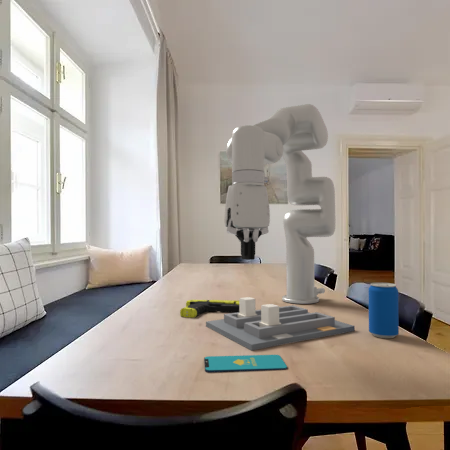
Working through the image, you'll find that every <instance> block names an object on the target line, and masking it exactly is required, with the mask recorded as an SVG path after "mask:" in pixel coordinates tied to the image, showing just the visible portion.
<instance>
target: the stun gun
mask: <svg viewBox="0 0 450 450" xmlns="http://www.w3.org/2000/svg"><path fill="white" fill-rule="evenodd" d="M208 312H219V313H229V314H230V313H238V312H239V300H238V299H237V300H233V299H231V300H229V299H225V300H224V299H188V300H186V302H185V307H183V308H181V309H180V311H179V316H180V317H181V318H182V317H183V318H191V319H194V318H196V317H198V316H199V315H201V314H203V313H208Z"/></svg>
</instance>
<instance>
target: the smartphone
mask: <svg viewBox="0 0 450 450" xmlns="http://www.w3.org/2000/svg"><path fill="white" fill-rule="evenodd" d="M203 363H204V372H205V373H208V374H209V373H211V374H212V373H235V372H237V373H238V372H256V371H257V372H258V371H261V372H263V371H283V370H288V366H287V364H286V362H285V360H284V359H283V358H282V357H281V355H280V354H250V355H249V354H248V355H216V356H215V355H212V356H211V355H210V356H205V357H204V358H203Z"/></svg>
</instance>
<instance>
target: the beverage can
mask: <svg viewBox="0 0 450 450" xmlns="http://www.w3.org/2000/svg"><path fill="white" fill-rule="evenodd" d="M369 284H370V285H369V287H368V332H369V333H371V335H372V336H374V337H377V338H380V339H393V338H395V337H396V336H398V335H399V334H400V333H399V330H400V328H399V327H400V326H399V325H400V323H399V322H400V321H399V320H400V319H399V290H398V288H397V284H395V283H390V282H371V283H369Z"/></svg>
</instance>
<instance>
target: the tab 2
mask: <svg viewBox="0 0 450 450" xmlns="http://www.w3.org/2000/svg"><path fill="white" fill-rule="evenodd" d="M260 306H261V307H260V310H261V322H259V327H267V326H273V325H279V324H281V323H279V307H280V306H279V305H276V304H273V303H268V304H267V303H266V304H261V305H260Z"/></svg>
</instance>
